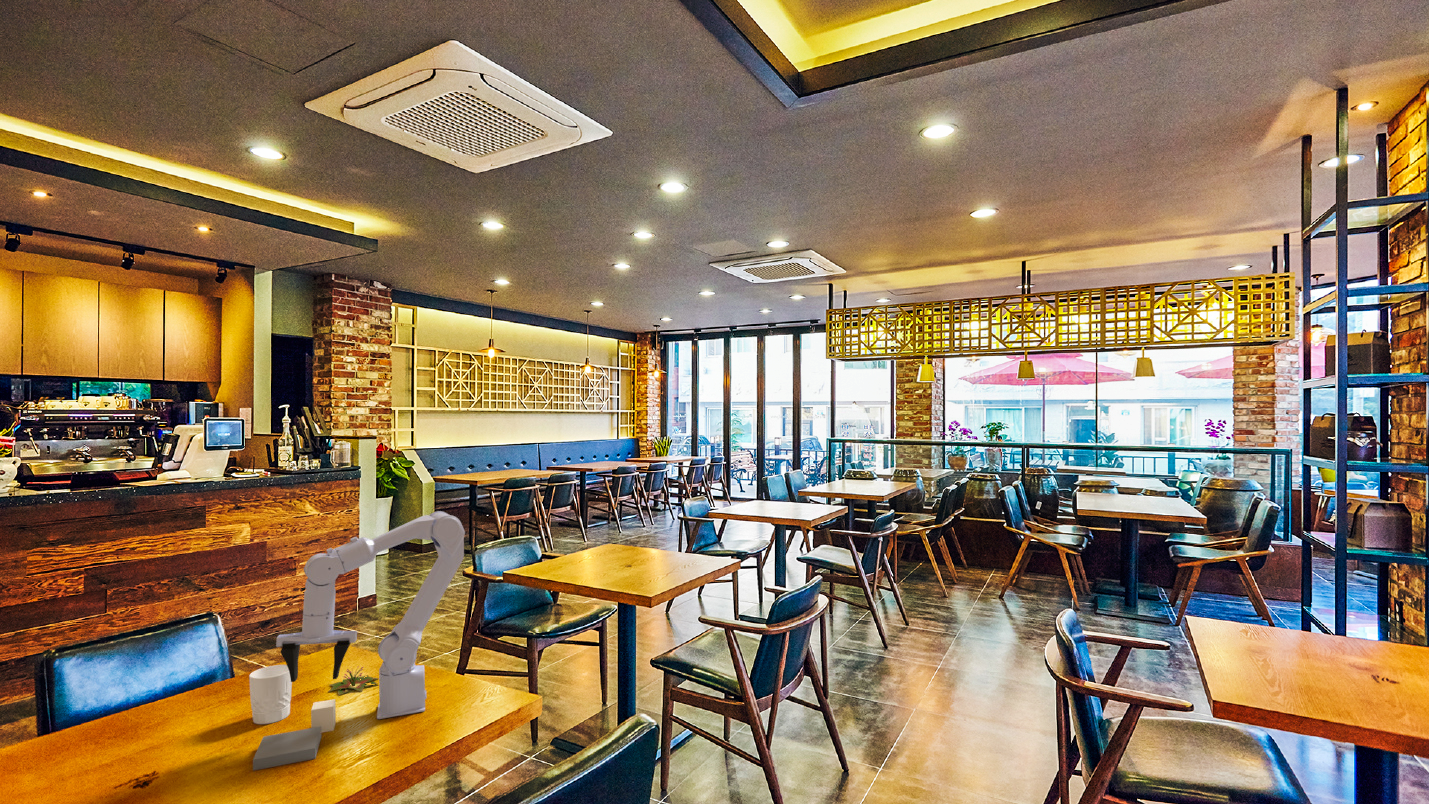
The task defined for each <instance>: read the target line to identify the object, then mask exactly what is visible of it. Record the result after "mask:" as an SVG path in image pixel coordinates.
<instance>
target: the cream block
mask: <svg viewBox="0 0 1429 804" xmlns="http://www.w3.org/2000/svg"><path fill="white" fill-rule="evenodd" d="M312 704H313V705H312V707H311V710H310V711H311V713H310V715H311V718H310V719H311V723H310V724H311V728H315V727H321V733H322V734H323V733H326V732H327V733H328V732H333V731H335V727H336V721H337V720H336V713H337V712H336V699H335V698H334V699H329V700H328V699H327V700H322V701H321V700H320V701H315V702H313V703H312Z"/></svg>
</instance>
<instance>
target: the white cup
mask: <svg viewBox="0 0 1429 804" xmlns="http://www.w3.org/2000/svg"><path fill="white" fill-rule="evenodd" d="M248 677H249V678H248V679H249V695H250V697H249V698H250V704H251V705H250V706H251V707H250V708H251V711H252V712H251V713H252V721H253V723H254V724H257V725H267V724H268V725H269V724H273V723H277V722H279V721H282V720H284V719H286V718H288V716H289V715H290V714H291V701H292V685H293V682H291V678H290V673H289V669H288V666H287V664H276V665H269V666H266V667H262V668H258V669H256V670H254V671H252V672H251V673H250V674H249V675H248Z"/></svg>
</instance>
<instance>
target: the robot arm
mask: <svg viewBox="0 0 1429 804" xmlns="http://www.w3.org/2000/svg"><path fill="white" fill-rule="evenodd" d="M465 534H466V531H465V529H464V526H463V524H462V522H461V520H460V519H459V518H458V517H457V516H454V515H452V514H451V515H450V514H449V513H447V512H445V511H443V510H442V511H441V510H440V511H439V510H437V511H434V512H432V513H430V514H424V515H422V516H420V517H417V518H415V519H413V520H410V521H409V522H406V523H404V524H402V525H400V526H397V527H395V528H392V529H391V530H389V531H387V532H384V533H381V534H380V535H379V536H376V537H374V538H368V537H366V536H365V537H364V536H361V537H359V538H358V537H357V536H354V537H352V538H349V541H350V542H347V543H344V544H342V545H340V546H337V547H335V548H332V547H330V548H327V549H326V552H327V553H323V552H322V553H321V552H320V553H316V554H314V555H312V556H311V557H310V558H309V559H307V561H306V562H305V566H304V567H303V572H304V574H305V576H306V577H307V578H306V580H305V581H306V582H305V585H304V586H305V587H304V588H305V590H304V593H303V595H304V596H303V606H302V607H303V610H302V628H301V629H302V630H301V632H295V633H285V634H279V635H277V637H276V640H275V641H276V643H275V646H276V648H277V647H278V648H279V647H280V648H281V649H280V654H281V656H282V658H283V659H284V661H285V663H286V664H285V665H287V666H288V669H289V673H290V678H291V682H292V683H295V682H296V681H297V680H298V675H299V657H300V656H299V654H300V649H301V645H317V644H319V645H320V644H333V643H334V644H335V645H334V647H333V658H334V659H333V670H332V680H338V677H339V676H340V675H339V674H340V671H341V666H342V664H343V660H344V659H345V655H346V654H347V652H348V649H349V648H350V645H351V644H353V643H356V641H357V639H358V630H335V629H334V626H335V608H336V593H337V592H336V591H337V590H336V579H338V577H339V575H344V574H347V573H349V572H352V571H353V570H356V569H358V568H361V567H362V566H365V565H367V564H369V563H372V562H373V561H374V560H375V558H376V556H377V555H378V553H380V552H382V551H385V550H389V549H391V548H393V547H396V546H398V545H402V544H405V543H407V542H409V541H411V540H414V539H418V540H424V541H425V540H427V541H432V542H433V544H434V547H435V550H436V552H437V556H438V557H437V559H436V560H435V562H434V564H433V566H432V567H431V569H430V571H429V573H428V574H427V576H426V577H425V580H424V582H423V583H422V584H421V586H420V588H419V590H418V592H417V593H416V595H415V597H414V599H413V600H412V602H411V604H410V605H409V607H408V609H407V611H405V614H404V615H403V618H402V619H401V621H399V622H398V623H397V624H395V626H394V627H393V629H392V630H391V632H390V633H389V634H387V635H386V636H385V637H383V639H381V641H380V642H379V644H378V646H377V647H378V649H377V654H378V656H379V658H380V659H381V660H382V664H381V666H380V667H379V668H378V669H379V670H378V677H379V678H378V680H379V681H378V684H379V685H378V686H379V692H378V693H379V696H378V697H379V703H378V704H377V712H376V720H381V719H382V720H383V719H386V718H387V719H388V718H393V717H394V718H395V717H398V716H404V715H411V714H416V713H421V712H425V711H426V700H427V689H426V685H425V681H426V680H425V677H426V676H425V675H426V674H425V672H426V671H425V665H424V664H423V665H422V664H420V665H419V664H417V665H416V660H417V652H418V649H419V647H420V645H421V642H422V637H423V631H424V630H425V627H427V624H428V622H429V621H430V619H431V617H432V615H433V613H434V612H435V610H436V608H437V606H438V605H439V602H441V599H442V598H443V597H444V594H445V592H446V591H447V589H448V587H449V585H450V583H451V582H452V580H453V578H454V577H455V575H456V573H457V572H458V569H459V568H460V566H461V564H462V562H463V560H464V559H465V558H464V557H465V549H464V547H465V544H464V543H465V542H464V541H465V539H464V538H465Z"/></svg>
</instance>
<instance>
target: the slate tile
mask: <svg viewBox="0 0 1429 804" xmlns="http://www.w3.org/2000/svg"><path fill="white" fill-rule="evenodd" d="M322 734H323V732H322V733H321V727H315V728H310V727H309V728H304V729H299V730H293V731H288V732H282V733H277V734H272V735H270V734H269V735H265V736H264V735H263V737H262V739H261V741H260V744H259V745H258V748H257V750H256V752H255V755H254V756H253V758H252V771H258V770H264V769H268V768H273V767H279V766H283V765H284V766H285V765H290V764H293V763H299V762H304V761H305V762H306V761H310V760H314V759H315V760H316V758H317V754H318V752H319V747H320V742H321V740H322V736H323V735H322Z"/></svg>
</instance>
